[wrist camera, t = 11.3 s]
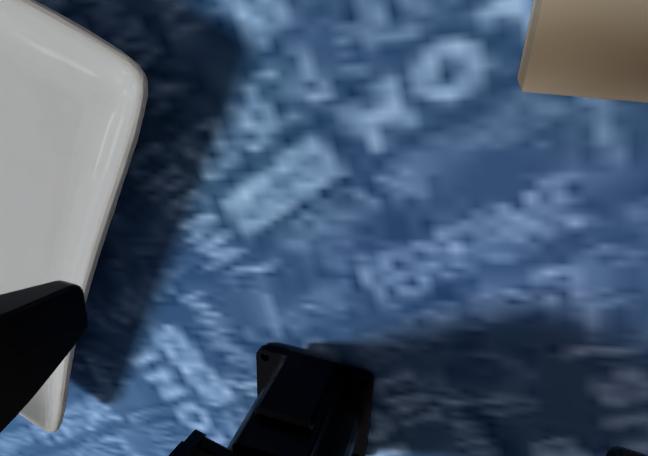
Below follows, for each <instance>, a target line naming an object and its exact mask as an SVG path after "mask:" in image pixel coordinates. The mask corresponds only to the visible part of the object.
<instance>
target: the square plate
mask: <svg viewBox="0 0 648 456" xmlns="http://www.w3.org/2000/svg"><path fill="white" fill-rule="evenodd" d="M147 98H148V80H147V77H146V74H145V73H144V71H143V70H142V68H141V67H140V65H139V64H138V63H137V62H135V61H134V60H133V59H132V58H130V57H129V56H128V55H127V54H125V53H124V52H123V51H121V50H120V49H118V48H117V47H115V46H114V45H112V44H111V43H109V42H107V41H106V40H104V39H102V38H101V37H99V36H98V35H96V34H94V33H93V32H91V31H89V30H88V29H86V28H84V27H83V26H81V25H79V24H77V23H76V22H74V21H72V20H70V19H69V18H67V17H65V16H63V15H61V14H59V13H58V12H56V11H54V10H52V9H50V8H48V7H47V6H45V5H43V4H41V3H39V2H37V1H36V0H0V294H4V293H9V292H13V291H17V290H21V289H25V288H29V287H33V286H37V285H41V284H45V283H49V282H53V281H57V280H62V281H66V282H70V283H73V284H76V285H79V286H80V287H81V288H82V290H83V292H84V298H85V304H86V301H87V297H88V293H89V290H90V286H91V283H92V279H93V276H94V272H95V269H96V266H97V263H98V258H99V256H100V253H101V250H102V247H103V244H104V241H105V238H106V235H107V232H108V228H109V225H110V222H111V220H112V217H113V215H114V212H115V209H116V205H117V201H118V198H119V195H120V192H121V189H122V186H123V183H124V179H125V177H126V174H127V171H128V168H129V165H130V162H131V159H132V156H133V152H134V150H135V147H136V144H137V141H138V137H139V133H140V129H141V125H142V121H143V117H144V113H145V108H146V103H147ZM75 347H76V344H75V346H74V347H73V348H72V349H71V351H70V352H69V353H68V354H67V356H66V357H65V358H64V359H63V361H62V362H61V363H60V365H59V366H58V367H57V368H56V370H55V371H54V372H53V373H52V375H51V376H50V377H49V378H48V380H47V381H46V382H45V383H44V385H43V386H42V387H41V388H40V390H39V391H38V392H37V393H36V394H35V396H34V397H33V398H32V399H31V400H30V402H29V403H28V404H27V405H26V406H25V407H24V408H23V409H22V410H21V411H20V413H19V414H20V415H21V416H23V417H24V418H26V419H27V420H29V421H30V422H32V423H33V424H35V425H37V426H38V427H40V428H42V429H43V430H45V431H47V432H56V431H57V430H58V429H59V428H60V425H61V423H62V420H63V416H64V412H65V408H66V401H67V395H68V387H69V381H70V375H71V369H72V362H73V358H74V351H75Z"/></svg>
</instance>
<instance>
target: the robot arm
mask: <svg viewBox="0 0 648 456" xmlns="http://www.w3.org/2000/svg"><path fill="white" fill-rule="evenodd" d="M87 326H88V316H87V310H86V304H85V298H84V292H83V290H82V288H81V287H80V286H79V285H76V284H73V283H70V282H66V281H62V280H57V281H53V282H49V283H45V284H41V285H37V286H33V287H29V288H25V289H21V290H17V291H13V292H9V293H4V294H0V433H1V432H2V430H3V429H4V428H5V427H6V426H7V425H8V424H9V423H10V422H11V421H12V420H13V419H14V418H15V417H16V416H17V415H18V414H19V413H20V411H21V410H22V409H23V408H24V407H25V406H26V405H27V404H28V403H29V402H30V400H31V399H32V398H33V397H34V396H35V394H36V393H37V392H38V391H39V390H40V388H41V387H42V386H43V385H44V383H45V382H46V381H47V380H48V378H49V377H50V376H51V375H52V373H53V372H54V371H55V370H56V368H57V367H58V366H59V365H60V363H61V362H62V361H63V359H64V358H65V357H66V356H67V354H68V353H69V352H70V351H71V349H72V348H73V347H74V346H75V344H76V343H77V342H78V341H79V339H80V338H81V337H82V336H83V334H84V333H85V331H86V329H87ZM265 354H266V355H268V356H266V355H265ZM256 360H257V393H258V397H257V399H256V401H255V402H254V404H253V406H252V407H251V409H250V411H249V412H248V414H247V416H246V417H245V419H244V421H243V422H242V424H241V426H240V427H239V429H238V431H237V432H236V434H235V436H234V437H233V439H232V441H231V442H230V444H229V445H228V447H227V448H226V447H224V446H222V445H220V444H218V443H216V442H214V441H212V440H210V439H209V438H207V437H206V434H204V433H202V432H200V431H198V430H196V429H195V430H194V431H193V432H192V434H191V435H190V436H189V437H188V438H187V439H186V440H185V441H184V442H183V441H182V442H181V443H180V444H179V445H178V446H177V447H176V448H175V449H174V450H173V451H172V452H171V454H170V455H169V456H366V451H367V443H368V434H369V425H370V417H371V408H372V400H373V391H374V382H375V379H374V376H373V375H372V374H371V373H370V372H368V371H365V370H361V369H357V368H354V367H350V366H346V365H342V364H338V363H334V362H330V361H326V360H322V359H318V358H315V357H311V356H307V355H303V354H299V353H295V352H291V351H287V350H283V349H279V348H275V347H272V346H268V345H264V346H261V347H260V349H259V350H258V352H257V354H256ZM361 379H362V380H366V381H367V382H364V381H362V380H361ZM606 456H646V455H644V454H642V453H639V452H636V451H632V450H629V449H626V448H622V447H619V446H614V447H612V448H611V449H610V450H609V451H608V452H607V454H606Z"/></svg>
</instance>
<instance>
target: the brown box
mask: <svg viewBox="0 0 648 456" xmlns="http://www.w3.org/2000/svg"><path fill="white" fill-rule="evenodd" d="M517 80H518V82H519V85H520V87H521V90H522V92H532V93H543V94H555V95H566V96H578V97H589V98H601V99H612V100H624V101H635V102H646V103H648V0H534V3H533V7H532V12H531V17H530V21H529V26H528V31H527V35H526V40H525V45H524V49H523V54H522V59H521V64H520V68H519V73H518V78H517Z"/></svg>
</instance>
